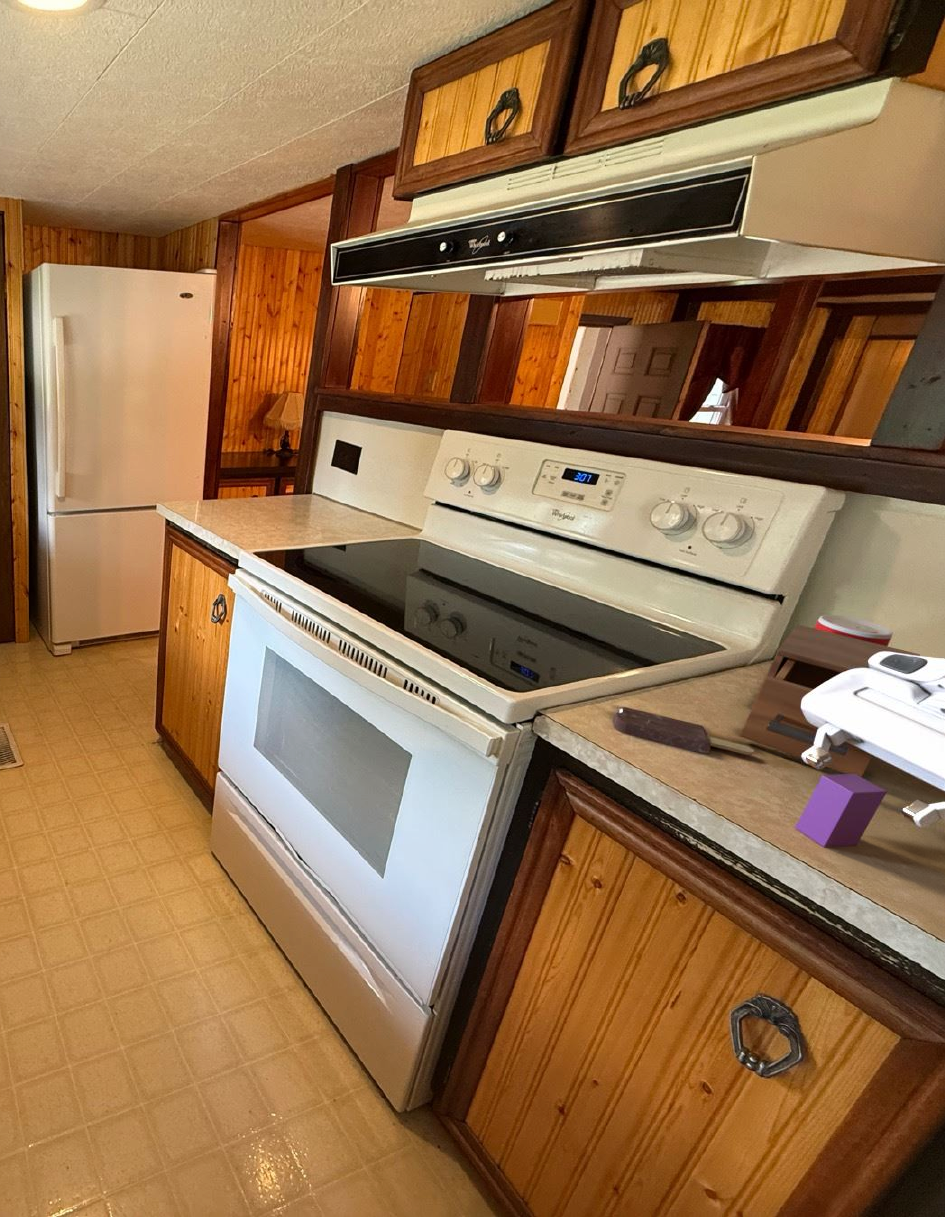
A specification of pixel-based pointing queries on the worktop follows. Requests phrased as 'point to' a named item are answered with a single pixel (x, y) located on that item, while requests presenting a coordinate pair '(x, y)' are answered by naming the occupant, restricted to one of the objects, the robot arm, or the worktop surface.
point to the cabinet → (826, 651)
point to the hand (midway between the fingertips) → (857, 789)
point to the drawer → (797, 717)
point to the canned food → (854, 629)
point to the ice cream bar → (671, 731)
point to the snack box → (840, 810)
